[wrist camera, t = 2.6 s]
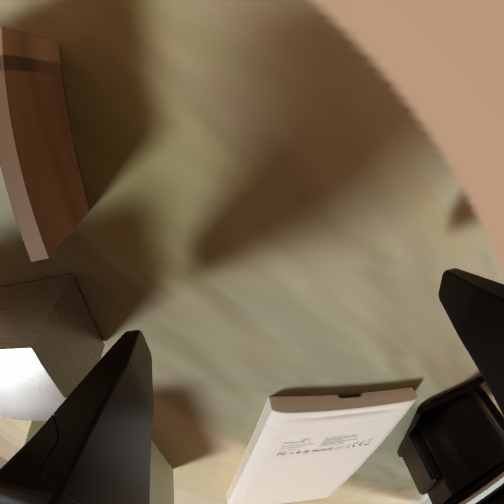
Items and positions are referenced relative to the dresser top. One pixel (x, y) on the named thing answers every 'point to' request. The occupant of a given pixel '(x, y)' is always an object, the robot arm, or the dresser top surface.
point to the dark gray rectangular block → (44, 346)
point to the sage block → (158, 471)
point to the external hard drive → (314, 444)
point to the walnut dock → (38, 143)
